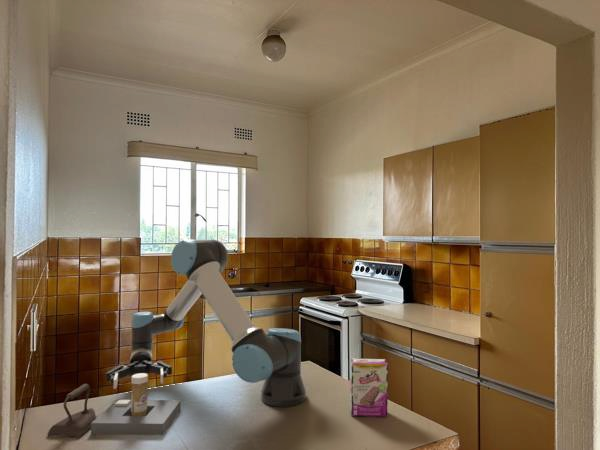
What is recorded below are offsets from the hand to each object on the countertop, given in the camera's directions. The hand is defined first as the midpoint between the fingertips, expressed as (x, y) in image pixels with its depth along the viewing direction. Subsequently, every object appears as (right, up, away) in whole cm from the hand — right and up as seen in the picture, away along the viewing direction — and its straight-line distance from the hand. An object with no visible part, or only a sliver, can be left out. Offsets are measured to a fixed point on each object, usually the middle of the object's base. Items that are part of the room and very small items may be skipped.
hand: (138, 381), depth 125 cm
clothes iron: (-14, -10, -9) cm, 19 cm away
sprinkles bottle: (+2, -10, -6) cm, 11 cm away
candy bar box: (+71, -10, 0) cm, 72 cm away
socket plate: (+2, -9, -6) cm, 11 cm away
